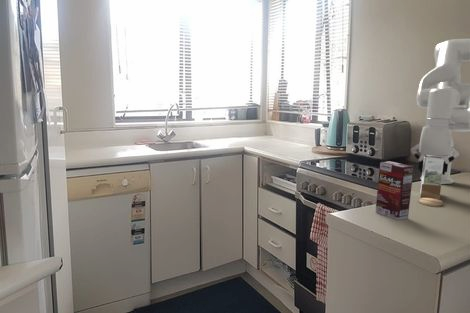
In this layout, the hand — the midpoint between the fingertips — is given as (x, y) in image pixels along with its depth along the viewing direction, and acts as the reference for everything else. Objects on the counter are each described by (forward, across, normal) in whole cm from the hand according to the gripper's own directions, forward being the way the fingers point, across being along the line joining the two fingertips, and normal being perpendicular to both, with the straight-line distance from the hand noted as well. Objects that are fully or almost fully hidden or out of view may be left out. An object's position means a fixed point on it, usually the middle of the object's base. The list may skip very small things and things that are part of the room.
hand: (432, 172), depth 141 cm
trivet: (+9, 0, +12) cm, 14 cm away
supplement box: (+9, +11, +33) cm, 36 cm away
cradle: (+9, 0, 0) cm, 9 cm away
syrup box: (+9, 0, 0) cm, 9 cm away
